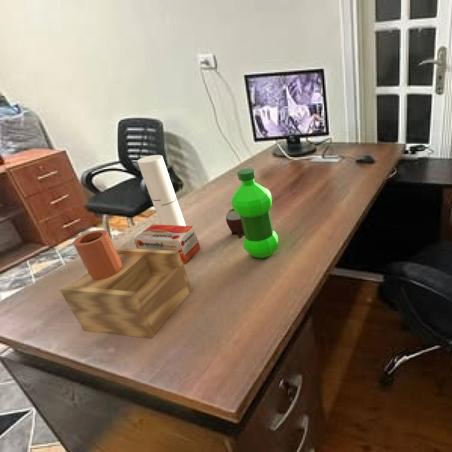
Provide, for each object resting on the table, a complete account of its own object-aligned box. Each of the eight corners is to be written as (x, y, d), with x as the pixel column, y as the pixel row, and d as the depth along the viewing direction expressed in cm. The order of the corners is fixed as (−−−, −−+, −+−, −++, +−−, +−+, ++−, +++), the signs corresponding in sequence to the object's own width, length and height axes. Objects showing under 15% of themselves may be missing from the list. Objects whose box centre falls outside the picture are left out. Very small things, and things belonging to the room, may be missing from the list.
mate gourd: (228, 239, 109) (216, 196, 102) (232, 227, 116) (221, 186, 109) (252, 237, 110) (242, 193, 102) (255, 225, 117) (245, 183, 109)
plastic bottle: (242, 249, 104) (222, 169, 91) (277, 240, 107) (262, 161, 94) (248, 267, 95) (226, 182, 83) (285, 256, 98) (270, 173, 86)
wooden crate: (83, 330, 79) (58, 288, 73) (132, 285, 93) (115, 247, 87) (151, 338, 75) (130, 295, 69) (192, 290, 89) (178, 250, 83)
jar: (84, 278, 78) (65, 244, 73) (106, 262, 83) (90, 229, 79) (108, 280, 76) (90, 246, 72) (129, 263, 81) (114, 230, 77)
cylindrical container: (169, 225, 122) (144, 155, 110) (189, 223, 122) (166, 154, 109) (160, 235, 116) (132, 163, 104) (180, 234, 115) (155, 161, 103)
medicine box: (141, 260, 103) (131, 237, 99) (159, 246, 110) (151, 223, 106) (186, 264, 99) (178, 240, 95) (202, 248, 106) (194, 225, 102)
